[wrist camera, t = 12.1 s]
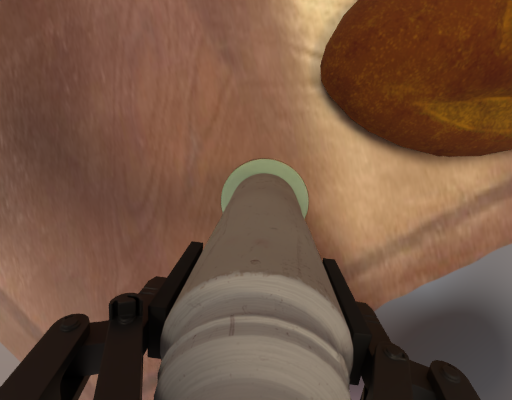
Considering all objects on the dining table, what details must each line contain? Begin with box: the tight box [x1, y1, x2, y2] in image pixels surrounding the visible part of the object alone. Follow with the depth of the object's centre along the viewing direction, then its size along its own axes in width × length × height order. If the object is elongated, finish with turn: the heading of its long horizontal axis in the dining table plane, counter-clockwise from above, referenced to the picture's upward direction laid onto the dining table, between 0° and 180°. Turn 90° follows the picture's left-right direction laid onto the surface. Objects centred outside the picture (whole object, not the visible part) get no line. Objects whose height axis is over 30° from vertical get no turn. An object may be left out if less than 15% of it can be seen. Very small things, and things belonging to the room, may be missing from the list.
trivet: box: [221, 158, 308, 219], centre depth 33 cm, size 11×11×1 cm
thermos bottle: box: [154, 173, 353, 400], centre depth 19 cm, size 8×8×28 cm
